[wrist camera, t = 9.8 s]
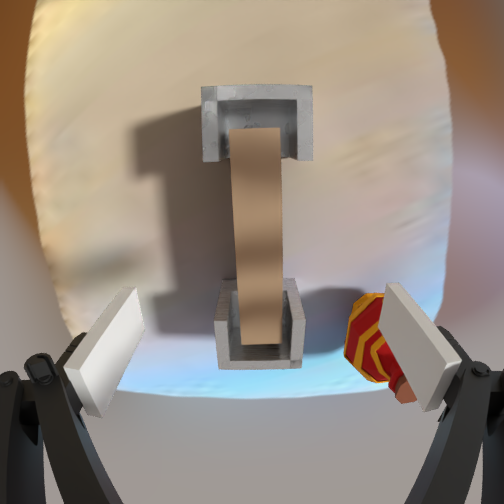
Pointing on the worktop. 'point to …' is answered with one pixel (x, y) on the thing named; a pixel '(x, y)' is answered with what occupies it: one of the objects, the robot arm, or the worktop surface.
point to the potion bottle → (374, 348)
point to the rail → (258, 232)
